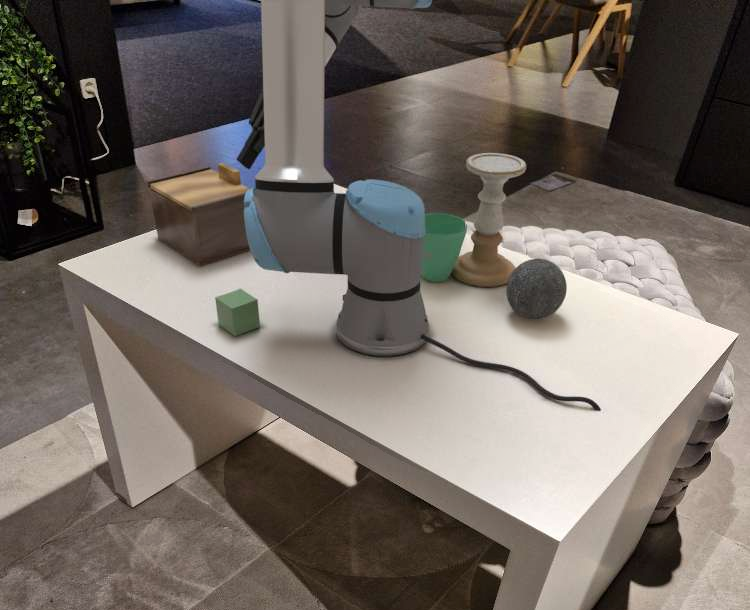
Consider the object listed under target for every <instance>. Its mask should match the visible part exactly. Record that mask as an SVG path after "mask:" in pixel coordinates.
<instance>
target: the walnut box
mask: <svg viewBox="0 0 750 610" xmlns="http://www.w3.org/2000/svg"><path fill="white" fill-rule="evenodd" d="M211 168H212V167H211V166H209V165H208V166H202V167H199V168H194V169H190V170H186V171H185V170H184V171H182V172H178V173H173V174H168V175H165V176H160V177H156V178H152V179H148V180H147V179H146V180H145V184H146V187H147V188H148V190H149V196H150V201H151V202H150V203H151V208H152V213H153V218H154V224H155V229H156V234H157V240H159V241H160V242H162V243H163V244H165V245H166V246H168V247H170V248H171V249H173V250H175V251H177V252H178V253H179V254H180V255H182V256H184V257H186V258H187V259H189V260H190V261H192V262H193V263H195V264H196V265H198V266H200V267H201V266H204V265H207V264H210V263H213V262H217V261H220V260H223V259H226V258H229V257H232V256H233V257H234V256H236V255H239V254H243V253H246V252H249V251H250V247H249V244H248V240H247V235H246V229H245V221H244V209H245V207H244V197H245V194H246V192H245V193H242V194H238V195H234V196H230V197H227V198H223V199H219V200H215V201H211V202H208V203H204V204H200V205H196V206H192V212H191V211H190V210H188V209H186V208H184V207H183V206H181V205H179V204H177V203H176V202H174V201H172V200H170V199H169V198H167V197H165V196H163V195H162V194H160V193H158V192H156V191H155V190H153V189H151V188H150V184H152V183H157V182H161V181H165V180H169V179H173V178H177V177H182V176H186V175H190V174H194V173H198V172H203V171H207V170H211Z"/></svg>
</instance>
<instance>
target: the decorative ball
mask: <svg viewBox="0 0 750 610" xmlns="http://www.w3.org/2000/svg"><path fill="white" fill-rule="evenodd" d="M567 287H568V285H567V280H566V277H565V274H564V272H563V270H562V269H561V268H560V267H559V266H558V265H557V264H556V263H554V262H552V261H551V260H549V259H545V258H531V259H527V260H525V261H523V262H522V263H520V264H519V265H517V266H516V267H515V270H514V271H513V272H512V273H511V275H510V277H509V279H508V282H507V283H506V287H505V294H506V300H507V303H508V305H509V306H510V308H511V309H512V310H513V312H514V313H515V314H517V315H518V316H519V317H520V318H523V319H527V320H531V321H538V320H543V319H547V318H549V317H551V316H552V315H554V314H555V313H556V312H557V311H558V310H559V309H560V307H561V306H562V304H563V303H564V302H565V298H566V295H567V290H568V289H567Z"/></svg>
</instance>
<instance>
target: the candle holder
mask: <svg viewBox="0 0 750 610" xmlns="http://www.w3.org/2000/svg"><path fill="white" fill-rule="evenodd" d="M465 167H466V170H467V171H468V172H470V173H472V174H473V175H476V176H479V178H480V179H481V181H482V183H483V187H482V190H481V191H479V192H478V194H477V198H478V199H479V201H480V202H479V206H478V210H477V212H476V215H475V217H474V219H473V227H474V229H475V231H474V232H473V233H471V235H470V240H471V241H472V243H473V248H472V250H471V251H468V252H465V253H464V254H461V255H459V256H458V259H457V261H456V264H455V266H454V268H453V270H452V272H451V275H452V276H453V278H455V279H456V280H458V281H460V282H462V283H464V284H467V285H470V286H475V287H482V288H483V287H484V288H485V287H486V288H489V287H490V288H491V287H499V286H503V285H507V282H508V279H509V277H510V275H511V273H512V272H513V271H514V270H515V268H516V267H515V264H514V263H513V262H512V261H511V260H509V259H508V258H506V257H505V256H504V255H502V254H500V253H499V246H500V244H502V242H503V240H504V239H503V235H502V234H501V233H500V232H501V231H502V230H503V228H504V226H505V220H504V216H503V203H504V202H505V201H506V200H507V194H505V192H504V185H505V184H506V182H508V181H509V180H510V179H512V178H516V177H519V176H522V175H523V174H525V172H526V171H527V163H526V161H525V160H524V159H522V158H520V157H519V156H515V155H511V154H508V153H507V154H506V153H500V152H499V153H497V152H485V153H477V154H473V155H470V156H469V157H468V158H467V159H466V160H465Z"/></svg>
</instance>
